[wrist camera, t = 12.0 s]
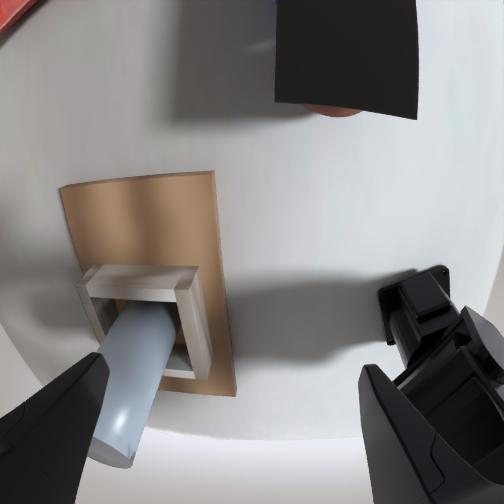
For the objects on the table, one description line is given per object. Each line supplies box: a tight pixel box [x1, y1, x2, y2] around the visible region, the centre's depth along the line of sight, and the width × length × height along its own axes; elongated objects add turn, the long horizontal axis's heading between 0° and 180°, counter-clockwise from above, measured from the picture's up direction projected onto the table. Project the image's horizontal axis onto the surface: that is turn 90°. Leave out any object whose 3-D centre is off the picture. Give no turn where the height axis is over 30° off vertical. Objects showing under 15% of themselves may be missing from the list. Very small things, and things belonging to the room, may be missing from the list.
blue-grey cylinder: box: [87, 300, 181, 468], centre depth 18 cm, size 5×5×13 cm
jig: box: [60, 171, 237, 397], centre depth 23 cm, size 12×22×4 cm, turn 2°
